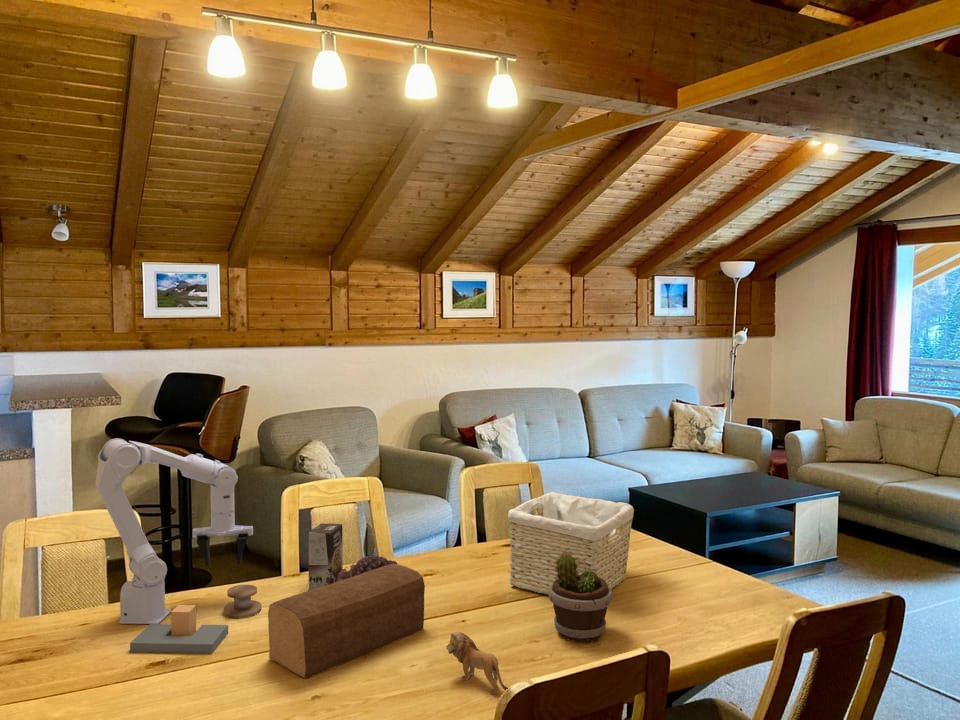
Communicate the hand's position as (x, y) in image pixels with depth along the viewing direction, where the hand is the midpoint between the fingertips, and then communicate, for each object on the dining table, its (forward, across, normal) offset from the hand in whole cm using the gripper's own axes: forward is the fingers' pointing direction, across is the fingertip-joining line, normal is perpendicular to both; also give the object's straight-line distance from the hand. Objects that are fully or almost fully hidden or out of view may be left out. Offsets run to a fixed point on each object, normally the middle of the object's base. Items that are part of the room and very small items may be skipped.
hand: (223, 563), depth 195 cm
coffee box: (+10, +25, +5) cm, 28 cm away
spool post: (+9, +6, -8) cm, 14 cm away
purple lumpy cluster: (+10, +38, -1) cm, 39 cm away
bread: (+10, +32, -31) cm, 45 cm away
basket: (+10, +91, -2) cm, 92 cm away
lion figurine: (+10, +57, -52) cm, 78 cm away
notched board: (+9, -6, -24) cm, 27 cm away
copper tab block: (+9, -5, -22) cm, 25 cm away
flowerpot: (+10, +84, -33) cm, 91 cm away
